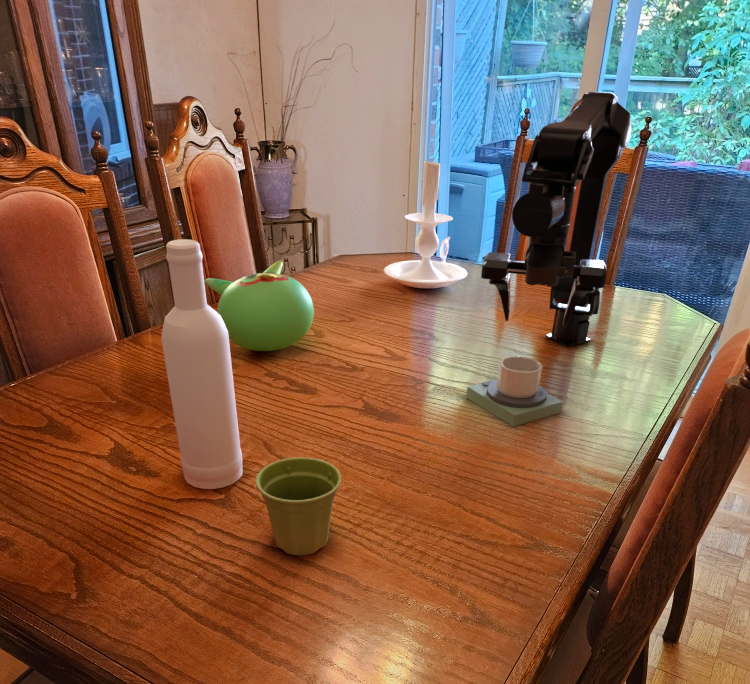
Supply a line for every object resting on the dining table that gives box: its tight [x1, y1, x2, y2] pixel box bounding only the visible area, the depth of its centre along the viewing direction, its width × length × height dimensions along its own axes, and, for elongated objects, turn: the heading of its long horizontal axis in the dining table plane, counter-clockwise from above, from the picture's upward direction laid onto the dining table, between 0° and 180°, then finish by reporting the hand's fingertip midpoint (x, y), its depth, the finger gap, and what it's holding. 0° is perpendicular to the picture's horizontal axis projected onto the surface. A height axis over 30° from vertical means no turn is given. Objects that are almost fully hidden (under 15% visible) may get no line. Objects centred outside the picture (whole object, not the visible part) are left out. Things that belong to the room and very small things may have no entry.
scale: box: [465, 378, 563, 428], centre depth 109 cm, size 12×10×3 cm
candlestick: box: [383, 158, 468, 289], centre depth 160 cm, size 21×25×28 cm
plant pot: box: [255, 456, 342, 556], centre depth 76 cm, size 9×9×9 cm
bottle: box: [160, 238, 244, 490], centre depth 81 cm, size 8×8×30 cm
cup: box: [497, 355, 543, 398], centre depth 106 cm, size 7×7×4 cm
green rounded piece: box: [204, 260, 315, 352], centre depth 125 cm, size 18×17×15 cm
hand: (535, 322), depth 109 cm, fingers open, 9 cm apart
